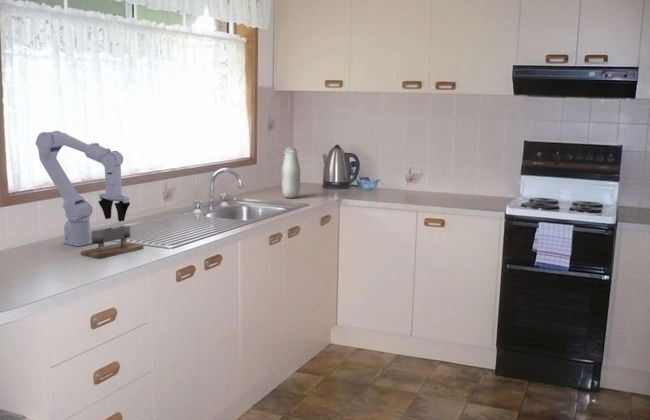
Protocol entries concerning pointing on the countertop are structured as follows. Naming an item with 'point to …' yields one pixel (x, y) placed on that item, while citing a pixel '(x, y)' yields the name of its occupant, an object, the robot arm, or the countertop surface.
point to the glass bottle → (290, 173)
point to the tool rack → (111, 249)
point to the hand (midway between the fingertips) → (114, 219)
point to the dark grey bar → (110, 234)
